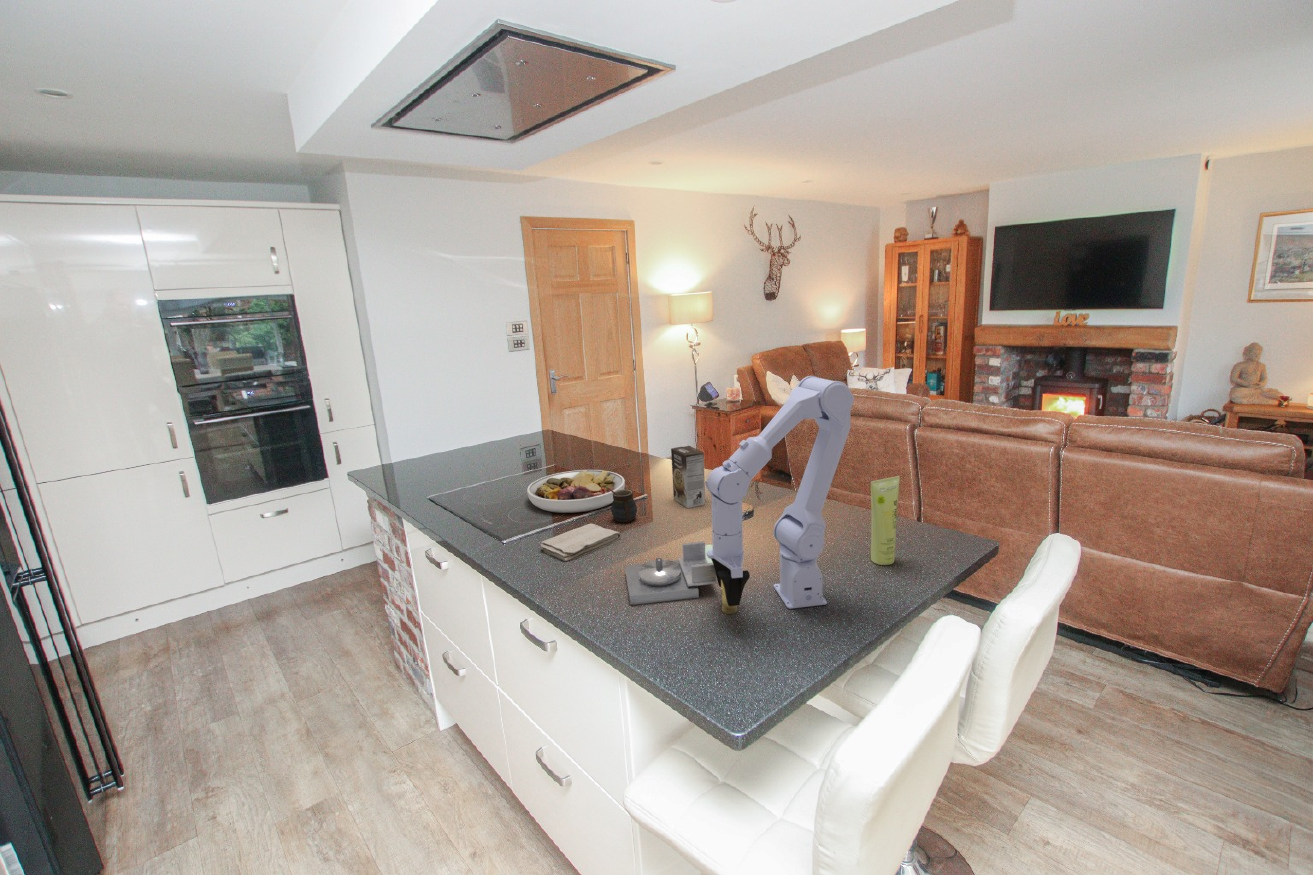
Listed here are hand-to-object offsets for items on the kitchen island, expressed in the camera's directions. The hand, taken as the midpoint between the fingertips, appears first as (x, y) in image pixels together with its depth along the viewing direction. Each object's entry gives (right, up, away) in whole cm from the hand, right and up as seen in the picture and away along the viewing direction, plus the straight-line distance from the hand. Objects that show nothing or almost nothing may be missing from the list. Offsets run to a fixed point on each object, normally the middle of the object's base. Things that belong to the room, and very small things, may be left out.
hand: (728, 594), depth 116 cm
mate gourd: (-23, +8, +50) cm, 56 cm away
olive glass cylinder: (0, -3, +1) cm, 3 cm away
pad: (0, +3, +25) cm, 25 cm away
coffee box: (-4, +11, +61) cm, 62 cm away
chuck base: (-13, -1, +12) cm, 18 cm away
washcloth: (-33, +3, +36) cm, 49 cm away
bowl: (-39, +11, +70) cm, 81 cm away
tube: (+36, +3, +17) cm, 40 cm away
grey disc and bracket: (-10, +1, +12) cm, 16 cm away
